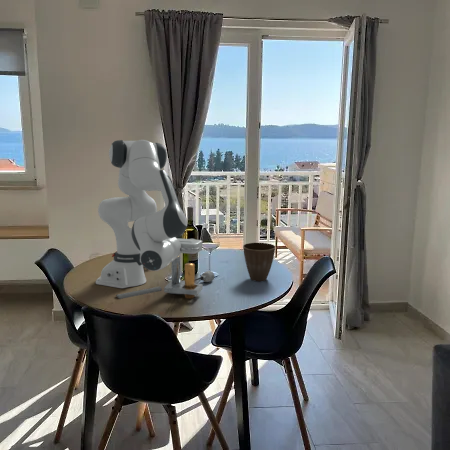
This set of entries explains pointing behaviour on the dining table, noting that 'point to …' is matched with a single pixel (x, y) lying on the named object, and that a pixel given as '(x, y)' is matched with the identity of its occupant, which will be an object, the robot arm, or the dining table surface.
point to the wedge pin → (189, 278)
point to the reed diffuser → (206, 276)
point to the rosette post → (180, 282)
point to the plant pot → (258, 260)
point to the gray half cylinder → (138, 292)
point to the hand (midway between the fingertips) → (180, 239)
